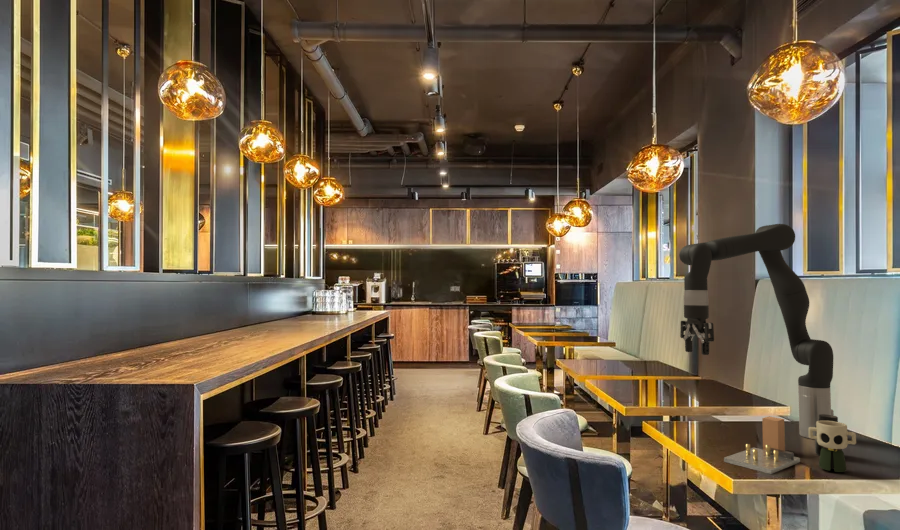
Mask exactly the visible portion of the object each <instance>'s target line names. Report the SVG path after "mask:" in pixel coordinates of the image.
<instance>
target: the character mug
mask: <svg viewBox="0 0 900 530" xmlns="http://www.w3.org/2000/svg"><path fill="white" fill-rule="evenodd" d="M813 431H816V432H817V436H813ZM808 432H809V438H808V439H811V440H815V439H816V440H817V442H818V444H819V445H821V446H823V448H822V449H821V452H820V456H819V459H818V467H819V468H820V469H823V470H825V471H828V472H829V471H831V469H832V470H834V472H836V473H843V472H846V471H847V469H848V468H847V463H846V459H845V458H846V456H845V453H844V451H843V449H846V448H847V447H848V445H856V444H857V435H856V434H857V433H856V432H853V431H848V425H847V424H846V423H843V422H839V421H838V422H835V421H817V422H816V428H815V427H809V429H808ZM848 436H850V437H851V440H848ZM841 449H842V450H841Z"/></svg>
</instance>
